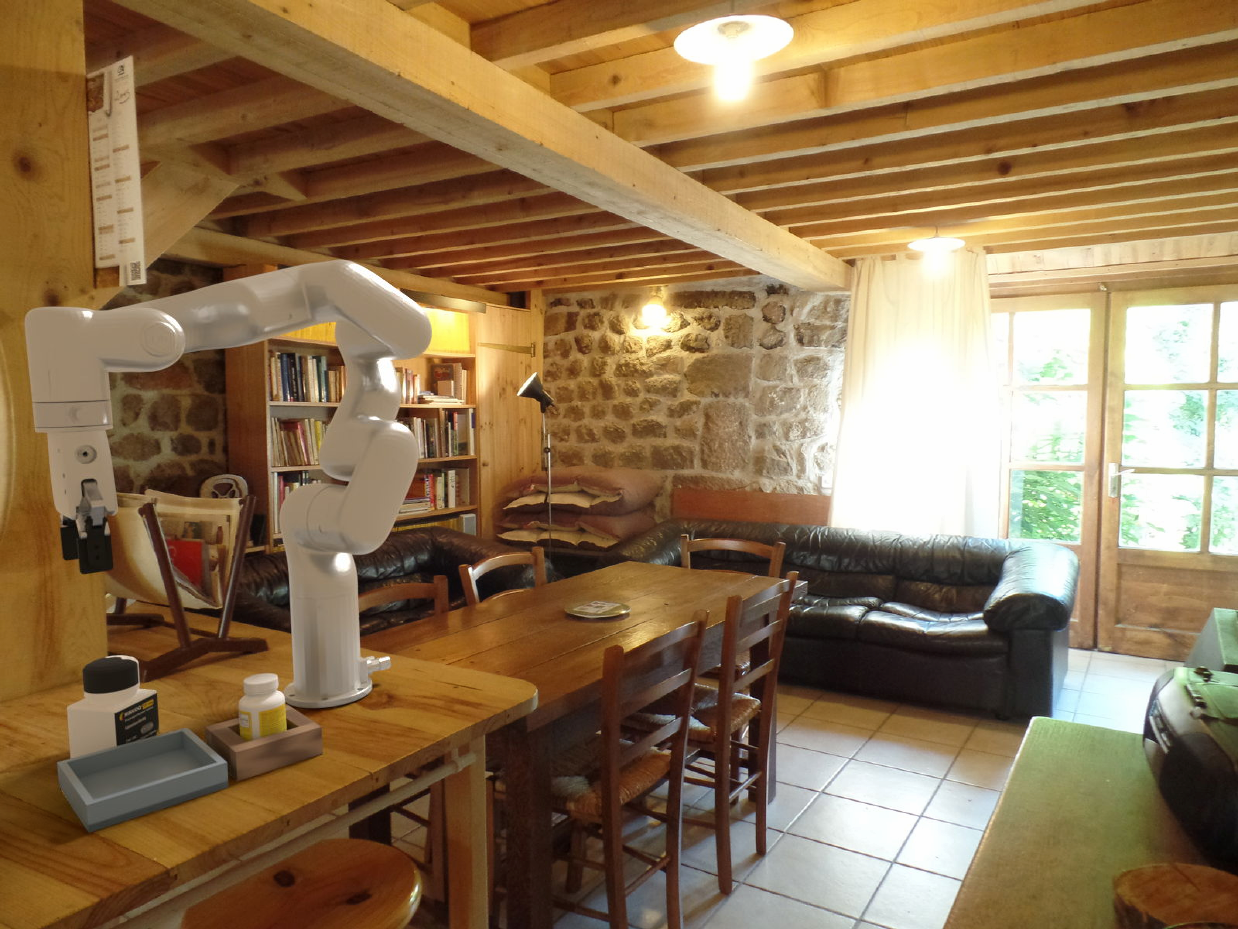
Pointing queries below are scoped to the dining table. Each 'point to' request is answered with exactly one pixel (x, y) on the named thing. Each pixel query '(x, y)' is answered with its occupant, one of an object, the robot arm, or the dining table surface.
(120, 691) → the medicine bottle
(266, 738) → the small brown open box
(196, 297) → the robot arm
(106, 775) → the pin tray
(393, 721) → the dining table surface
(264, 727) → the supplement bottle
